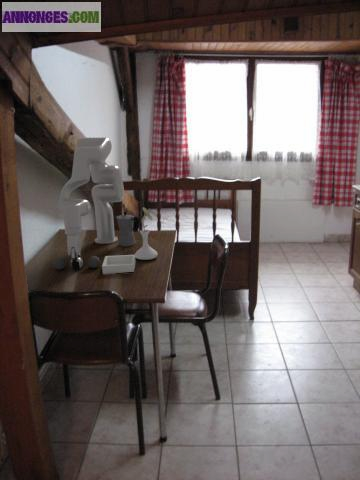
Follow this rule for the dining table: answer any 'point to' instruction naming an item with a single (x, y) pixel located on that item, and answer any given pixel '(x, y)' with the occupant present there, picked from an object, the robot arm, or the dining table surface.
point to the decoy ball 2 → (94, 261)
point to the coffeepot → (127, 229)
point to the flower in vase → (145, 243)
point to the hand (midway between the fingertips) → (77, 266)
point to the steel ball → (79, 261)
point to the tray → (118, 264)
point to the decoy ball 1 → (59, 263)
